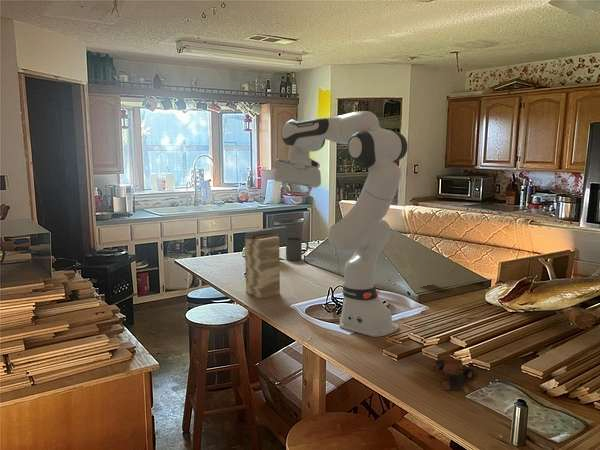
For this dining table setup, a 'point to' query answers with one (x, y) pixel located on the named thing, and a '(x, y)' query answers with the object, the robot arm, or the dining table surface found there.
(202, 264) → the dining table surface
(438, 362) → the pottery mug
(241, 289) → the dining table surface
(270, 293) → the maple stand
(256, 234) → the steel block
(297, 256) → the mug
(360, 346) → the dining table surface
